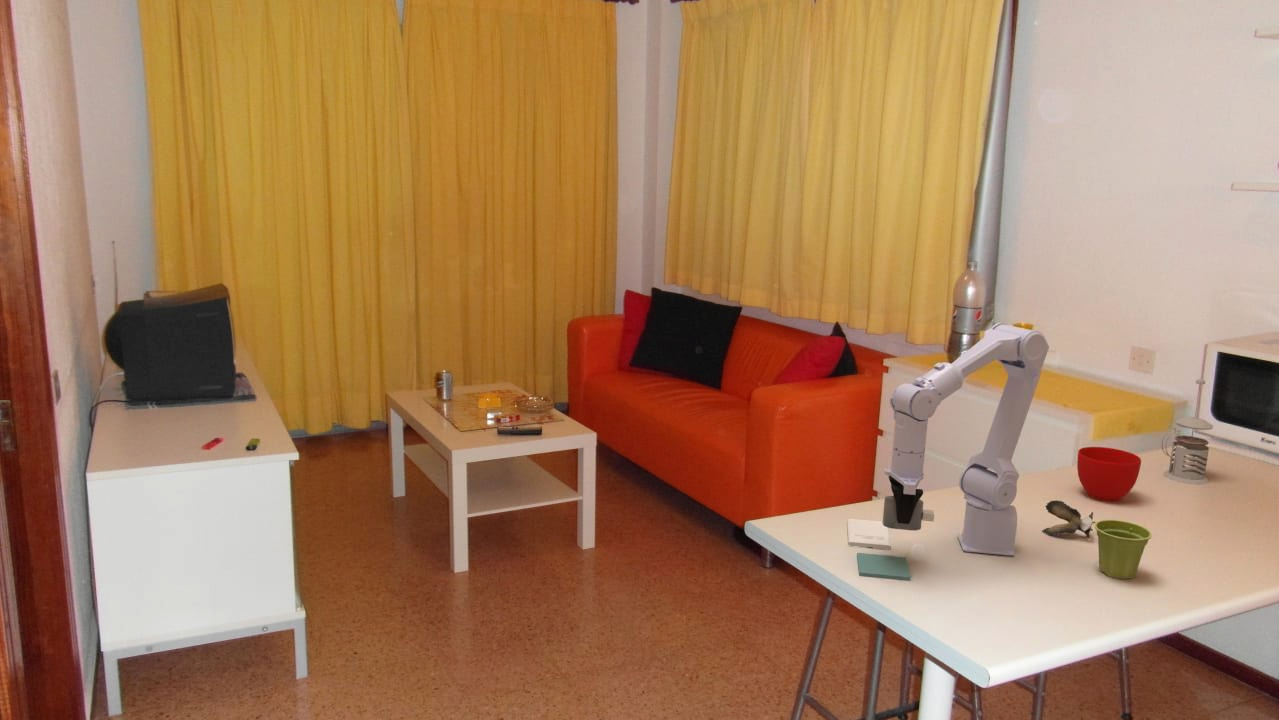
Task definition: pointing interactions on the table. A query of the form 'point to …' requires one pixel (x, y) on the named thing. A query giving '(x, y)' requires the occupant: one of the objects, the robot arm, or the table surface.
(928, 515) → the plug
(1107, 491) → the red bowl
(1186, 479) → the french press
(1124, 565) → the plant pot
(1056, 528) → the eagle figurine
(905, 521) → the robot arm
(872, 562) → the mat
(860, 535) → the external hard drive
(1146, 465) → the table surface
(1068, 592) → the table surface
